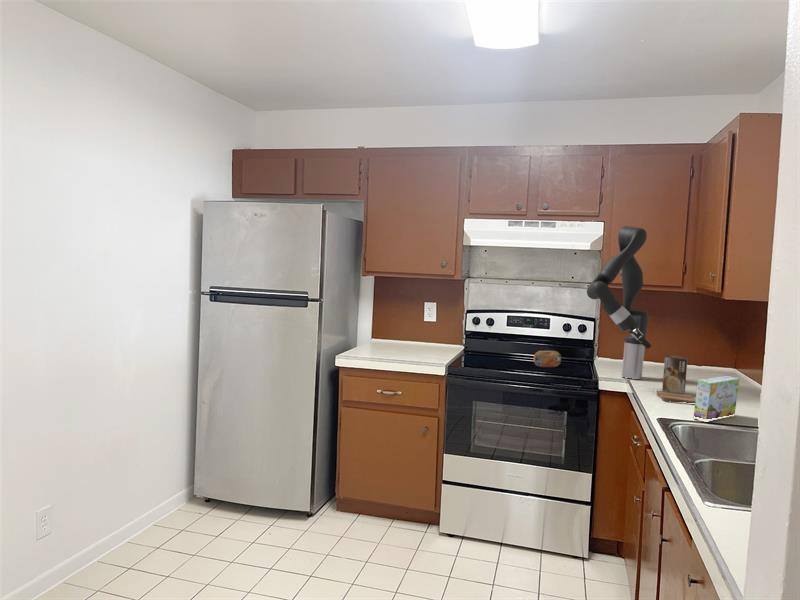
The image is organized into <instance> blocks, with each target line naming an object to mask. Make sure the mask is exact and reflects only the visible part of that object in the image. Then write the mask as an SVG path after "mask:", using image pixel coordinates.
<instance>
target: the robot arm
mask: <svg viewBox="0 0 800 600" xmlns="http://www.w3.org/2000/svg"><path fill="white" fill-rule="evenodd" d="M617 235H618V236H617V241H618V249H619V252H618V253H617V254H616V255H614V256H612V257H611V258H610V259H608V261H607V262H606V263H605V264H604V265H603V267H602V268H601V270H600V272H599V273H598V275H597V276H596V277H595V278H594V279H593V280H592V281H591V283H590V284H589V285H588V287H587V289H586V295H587V297H588V298H589V299H591V300H598V299H599V300H600V302H601V303H602V304H601V308H602V309H603V310H604V312H605V313H606V314H607V315H608V316H609V317H610V319H611V320H612V321H613V323H614V324H615V325H616V326H617V327H618V328H619V329H620V330H621V331H622V332H627V331H628V334H630V335H626V336H625V337H624V344H623V346H624V347H623V357H622V367H621V368H622V369H621V377H622V376H623V377H627V378H632V379H631V380H633V379H641V380H642V379H643V369H644V358H645V348H646V349H647V350H649V349H650V348H652V344H650V343H649V341H648V340H647V339H646V338H647V329H648V324H649V314H648V311H647V310H642V309H641V310H639V309H633V302H634V301H635V299H636V297H637V296H638V295H639V293H640V292H641V291H642V289H643V287H644V273H643V270H642V268H641V266H640V264H639V263H638V261H637V259H636V257H635V255H636V254H637V253H638V251H640V250H641V249H642V247H643V246H644V245H645V243H646V241H647V232H646V230H645V228H641V227H636V226H626V225H624V226H622V227H620V229H619V232H618V234H617ZM620 272H621V281H622V282H621V283H622V295H623V298H622V299H623V305H622V304H621V302H620V301H618V300H617V298H616V297H615V295H614V292H613V291H612V290H611V288H610V286H609V285H610V284H611V283H613V281H614V280H615V279H616V278H617V276H618V275H619V273H620ZM623 377H622V378H623ZM627 378H626V379H627Z"/></svg>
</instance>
